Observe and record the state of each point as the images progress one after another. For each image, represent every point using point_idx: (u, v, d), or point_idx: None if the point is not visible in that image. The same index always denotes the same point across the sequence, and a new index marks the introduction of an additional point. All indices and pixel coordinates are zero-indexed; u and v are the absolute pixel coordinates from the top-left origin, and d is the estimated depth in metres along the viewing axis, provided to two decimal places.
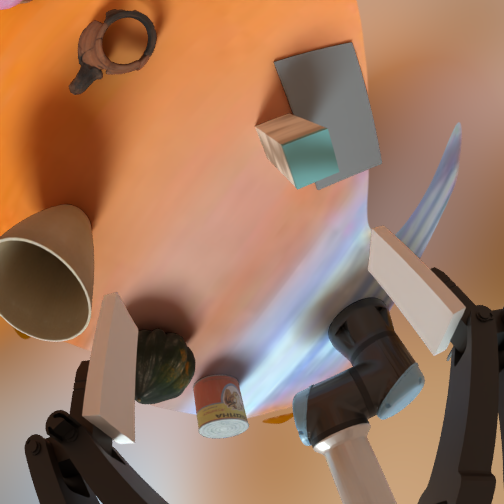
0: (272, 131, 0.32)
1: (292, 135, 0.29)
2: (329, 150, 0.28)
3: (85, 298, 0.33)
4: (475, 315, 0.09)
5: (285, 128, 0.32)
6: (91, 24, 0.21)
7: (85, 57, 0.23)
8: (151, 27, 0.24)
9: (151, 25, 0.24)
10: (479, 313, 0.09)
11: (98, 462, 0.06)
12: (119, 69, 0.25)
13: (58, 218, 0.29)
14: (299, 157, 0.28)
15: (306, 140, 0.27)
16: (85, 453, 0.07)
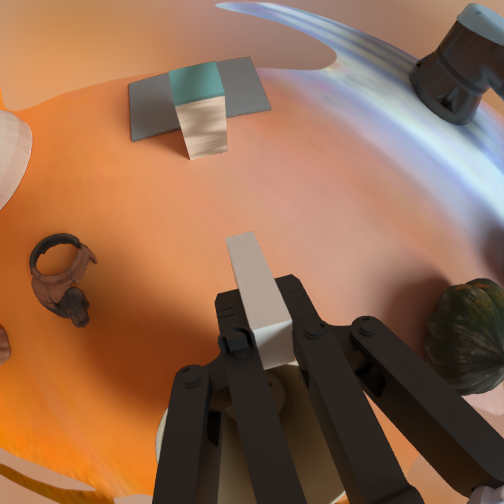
0: None
1: None
2: (190, 69, 0.26)
3: None
4: (303, 335, 0.10)
5: None
6: (32, 287, 0.28)
7: (53, 297, 0.27)
8: (56, 235, 0.30)
9: (55, 235, 0.30)
10: (307, 330, 0.10)
11: (258, 389, 0.08)
12: (75, 266, 0.28)
13: None
14: (190, 90, 0.26)
15: (175, 85, 0.26)
16: (247, 375, 0.09)
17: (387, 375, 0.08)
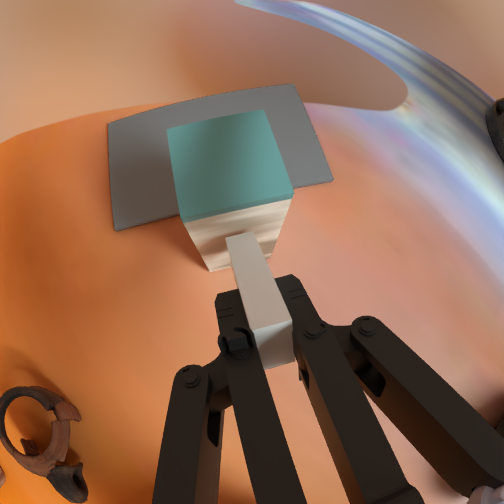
0: None
1: None
2: (212, 125, 0.14)
3: None
4: (303, 335, 0.10)
5: None
6: None
7: (38, 473, 0.14)
8: (19, 389, 0.17)
9: (17, 389, 0.17)
10: (307, 331, 0.10)
11: (258, 389, 0.08)
12: (54, 448, 0.15)
13: None
14: (215, 183, 0.13)
15: (180, 168, 0.13)
16: (247, 375, 0.09)
17: (387, 375, 0.08)
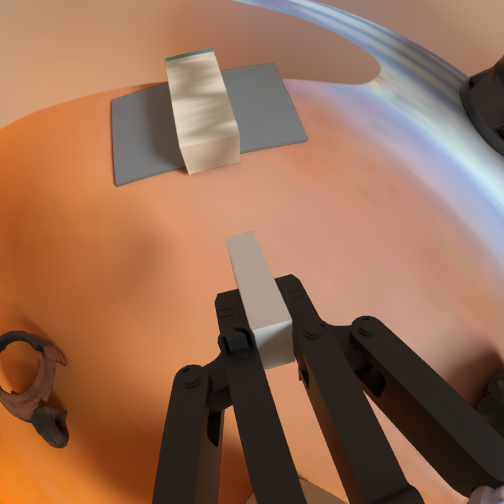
0: None
1: None
2: None
3: None
4: (303, 335, 0.10)
5: None
6: None
7: (22, 415, 0.17)
8: (12, 333, 0.20)
9: (10, 333, 0.20)
10: (307, 331, 0.10)
11: (258, 389, 0.08)
12: (38, 384, 0.18)
13: None
14: None
15: None
16: (247, 375, 0.09)
17: (387, 375, 0.08)
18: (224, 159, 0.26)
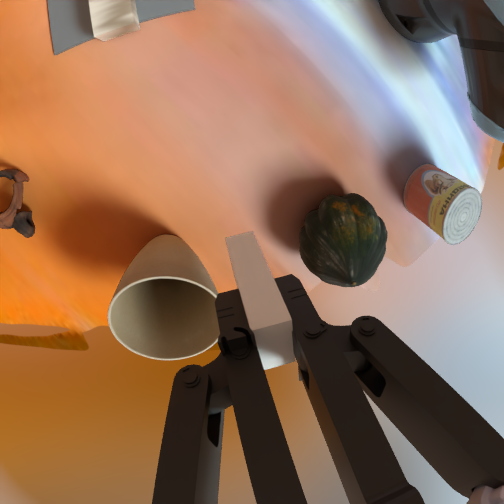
0: None
1: None
2: None
3: (207, 275, 0.38)
4: (303, 335, 0.10)
5: None
6: None
7: (7, 224, 0.32)
8: None
9: None
10: (307, 330, 0.10)
11: (258, 389, 0.08)
12: (15, 200, 0.31)
13: (128, 266, 0.37)
14: None
15: None
16: (247, 375, 0.09)
17: (387, 375, 0.08)
18: (127, 31, 0.27)
